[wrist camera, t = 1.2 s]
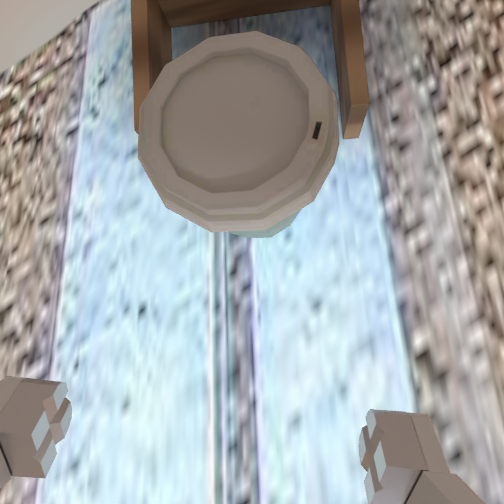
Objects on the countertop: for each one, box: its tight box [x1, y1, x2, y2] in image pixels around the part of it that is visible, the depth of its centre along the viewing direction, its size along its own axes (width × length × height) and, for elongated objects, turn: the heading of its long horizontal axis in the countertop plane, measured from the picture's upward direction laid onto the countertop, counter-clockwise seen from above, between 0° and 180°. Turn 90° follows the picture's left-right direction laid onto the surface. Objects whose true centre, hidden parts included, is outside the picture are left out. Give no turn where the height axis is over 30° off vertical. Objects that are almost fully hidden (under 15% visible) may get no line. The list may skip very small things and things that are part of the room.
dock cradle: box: [131, 0, 369, 139], centre depth 33 cm, size 13×16×7 cm
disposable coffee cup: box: [138, 31, 339, 238], centre depth 27 cm, size 11×11×15 cm
